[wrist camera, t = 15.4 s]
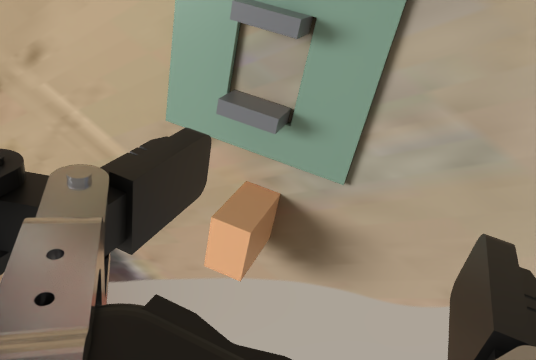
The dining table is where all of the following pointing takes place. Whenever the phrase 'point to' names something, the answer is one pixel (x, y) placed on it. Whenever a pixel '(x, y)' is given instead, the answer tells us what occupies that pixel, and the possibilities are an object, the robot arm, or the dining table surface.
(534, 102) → the dining table surface
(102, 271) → the robot arm
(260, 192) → the block
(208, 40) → the board
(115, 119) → the dining table surface
